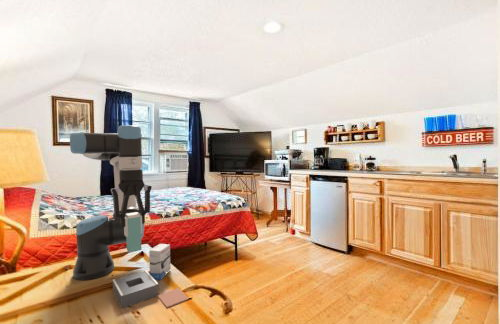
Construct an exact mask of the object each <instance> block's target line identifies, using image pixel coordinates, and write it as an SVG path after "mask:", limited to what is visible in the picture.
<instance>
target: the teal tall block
mask: <svg viewBox="0 0 500 324" xmlns="http://www.w3.org/2000/svg"><path fill="white" fill-rule="evenodd" d="M125 217H127V218H128V236H127V237H126V243H125V244H126V250H127V252H128V253H134V252H138V251H142V239H141V223H140V213H138V212H134V213H127V214H126V216H125Z"/></svg>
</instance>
